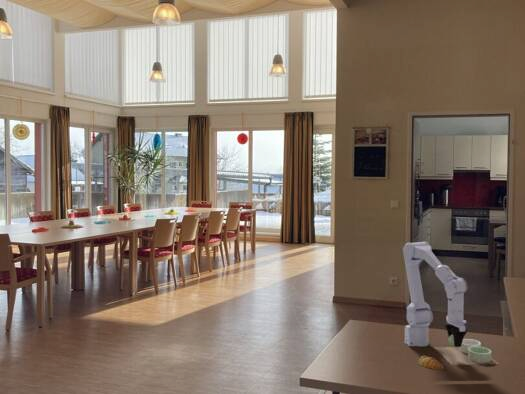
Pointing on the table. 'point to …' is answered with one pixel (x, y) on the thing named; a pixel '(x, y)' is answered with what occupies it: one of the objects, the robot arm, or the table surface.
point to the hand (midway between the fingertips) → (455, 344)
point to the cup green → (479, 354)
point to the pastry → (430, 363)
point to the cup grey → (468, 345)
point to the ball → (451, 340)
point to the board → (458, 356)
